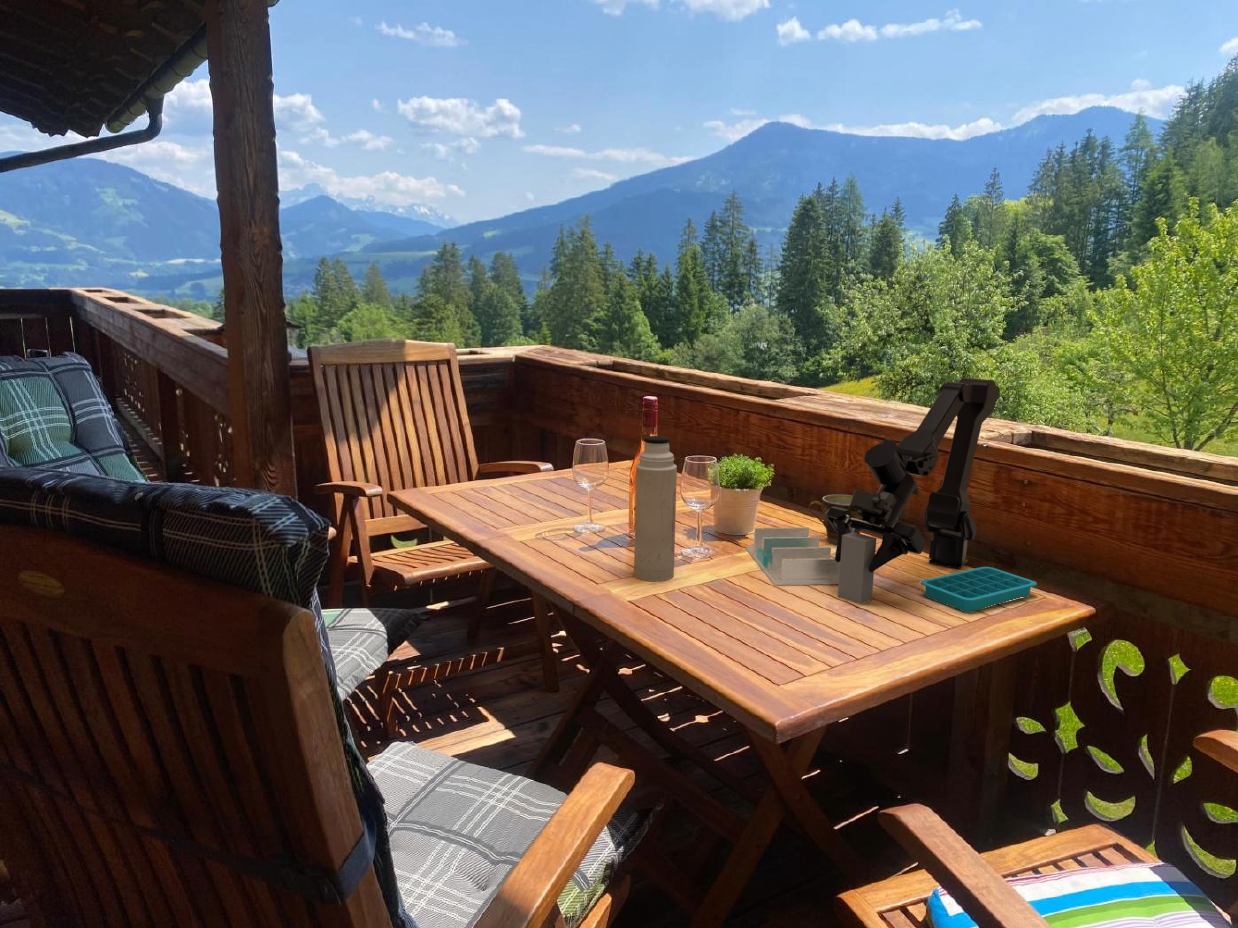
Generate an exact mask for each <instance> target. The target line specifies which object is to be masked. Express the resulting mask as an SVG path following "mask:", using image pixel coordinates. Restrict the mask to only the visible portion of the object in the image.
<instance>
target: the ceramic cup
mask: <svg viewBox="0 0 1238 928" xmlns="http://www.w3.org/2000/svg"><path fill="white" fill-rule="evenodd" d="M852 497H853V494H852V495H850V494H828V495H825V496H823V497H822V503H821V502H820V501H818V500H814V501H811V502H810V503H809V505H808V511H809V512H810V513H811V514H812V515H813V516H814V517H816V518H817V519H818V520H819V522H821V523H822V525H823V527H824V528H825V531H826V539H827V542H828V544H832V545H836V546H837V542H838V532H836V531H835V530H834V529H833V527H832V526H831V525H830V523H829V522H828V520H827V519H826V517H825V515H826V513H827V511H828V510H829V508H830V507H834V506H835V507H839V508H843V509H847V510H849V511H850V512H851V514H852V515H853V517H854V518H856V519H860V520H862V516H859V514H858V513H857V511H858V510H859V509H857V508H856V507H854V506H853V507H852V506H850V503H851V500H852ZM812 505H818V506H819V507H821V510H822V512H823V514H824V520H823V519H821V518H820V516H819V515H818V514H816V513H815V512H814V511H812V509H811V506H812ZM855 533H859V534H861V530H858V529H857V530H856V531H855Z"/></svg>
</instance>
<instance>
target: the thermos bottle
mask: <svg viewBox="0 0 1238 928" xmlns="http://www.w3.org/2000/svg"><path fill="white" fill-rule="evenodd" d="M643 440H644V442H645V443H644V451H642V452H641V453H640V454H639V459H638V460H639V462H638V463H637V464H636V466H635V501H634V503H635V505H634V506H635V508H634V509H635V510H634V516H635V517H634V530H635V533H634V535H635V536H634V555H633V556H634V558H633V559H634V560H633V561H634V562H633V563H634V565H633V575H634V577H636V578H637V579H639V580H643V581H648V582H664V581H667V580H668V581H669V580H671V579H672V578H674V575H675V547H676V546H675V545H676V515H677V514H676V513H677V512H676V510H677V508H676V507H677V481H678V480H677V477H678V476H677V475H678V473H677V471H678V466H677V464H675V463H674V460H675V457H674V453H672V452H671V451H670V444H669V443H670V437H668V436H663V435H649V436H644V438H643Z"/></svg>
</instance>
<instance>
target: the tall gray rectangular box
mask: <svg viewBox="0 0 1238 928" xmlns="http://www.w3.org/2000/svg"><path fill="white" fill-rule="evenodd" d="M876 548H877V537H874V536H870V535H866V534H861V533H860V534H859V533H855V532H852V533H848V534H845V535H842V545H841V559H840V573H839V584H838V589H837V591H838V592H837V597H838V598H840V599H843V600H846V601H850V602H852V603H855V604H857V605H863V604H865V603H868V602H871V601H872V599H873V587H874V574H875V571H873V572H869V570H868V567H869V565H870V563H871V561H872V559H873V557H874V556H875V554H876V552H877V549H876Z"/></svg>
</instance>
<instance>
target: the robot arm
mask: <svg viewBox="0 0 1238 928" xmlns="http://www.w3.org/2000/svg"><path fill="white" fill-rule="evenodd" d="M1000 391H1001V390H1000V387H999V386H998V385H997V384H996V381H994V379H987V378H985V379H983V378H976V377H961V379H960V380H957V381H947V382H943V383H942V384H941V387H940V390H939V394H938V396H937V397H936V399H935V400H934V402H933V404H932V405H931V407H930V408H929V410H928V412H927V413H926V415H925V416H924V418H923V419H922V421H921V422H920V424H919V425H918V427H917V429H916V430H915V431H914V432H912V433H910V434H908V435H906V436H905V437H903V438H902V439H901V440H900V442H899V443H898V444H897V443H896V441H895V440H893V439H887V438H885V439H883V441H882V443H878V444H876V445H873V446H871V448H870V449H868V450H866V452H865V455H864V462H865V463H866V465H867V467H868V469H869V470H870V472H871V474H872V476H873V477H874V478H875V481H876V482H877V483H878V484H880V487H879V488H878V490H877V492H874V491H872V492H870V491H866V490H865V491H864V490H861V489H854V491H853V494H852V496H853V497H852V500H851V503H850V506H852V507H853V506H854V507H856V508H857V509H859V510H858V511H857V513H858V514H859V516H862V520H860V519H856V518H854V517H853V515H852V514H851V512H850V511H849V510H847V509H843V508H839V507H835V506H834V507H830V508H829V510H828V511H827V513H826V515H825V516H824V518H825V517H826V519H827V520H828V522H829V523H830V525H831V526H832V527H833V529H834V530H835V531H836V532H838V542H837V545H836V548H835V555H834V558H835V561H836V562H838V563H839V562H840V559H841V545H842V535H845V534H848V533H852V532H855V531H856V530H857V529H858V530H861V531H862V532H866V533H870V534H874V535H876V536H881V537H882V539H881V544H880V545H879V547H878V549H877V550H876V551H875V556H874V557H873V559H872V561H871V563H870V565H869V567H868V570H869V572H873V571H874V572H875V571H876V570H878V569H879V568H881V567H882V566H884V565H886V564H887V563H889V562H891V561H893V560H894V559H896V558H898V557H901V556H902V555H906V556H907V555H908V554H909V553H912V554H916V555H921V554H922V552H923V550H924V549H925V545H926V541H925V538H924V537H923V535H922V533H921V532H920V530H919V528H918V527H917V525H914V524H909V523H904V522H901V521H898V520H899V519H904V517H905V515H906V514H905V512H904V509H905V508H906V506H907V504H908V503H909V500H910V498H912V495H914V496H918V495H920V489H919V487H918V481H917V480H915V479H914V476H919V477H928V476H929V475H930V474H931V473H933V472H932V471H934V469H935V468H936V466H937V463H938V460H939V457H940V454H939V449H938V447H939V445H940V444H941V442H942V440H943V438H944V437H945V435H946V433H947V432H948V431H949V429H950V427H951V425H952V424H953V422H954V421H955V419H956V422H955V427H954V431H953V436H952V441H951V444H950V450H949V453H948V458H947V462H946V466H945V467H946V468H945V471H944V474H943V475H944V476H943V479H942V484H941V486H940V487H939V488H938V489H937V490H936V491H931V493H930V494H929V496H928V503H927V505H926V508H925V513H924V517H925V518H924V519H925V527H926V528H925V529H926V532H927V533H932V534H933V537H932V538H931V539H930V540H929V542H930V543H929V553H928V558H929V560H928V564H932V565H937V566H942V567H948V568H953V569H958V570H959V569H962V568H963V567H964V566H965V565H966V564H967V563H968V559H967V549H968V541H974V540H975V539H974V538H975V537H976V535H977V532H978V526H977V524H976V522H975V521H974V519H973V516H972V515H971V512H972V503H971V500H970V496H969V494H968V486H969V481H970V478H971V477H970V476H971V473H972V467H973V466H974V465H973V464H974V461H975V460H974V459H975V456H976V452H977V451H976V450H977V446H978V442H979V437H980V433H981V429H982V426H983V423H984V422H985V421H986V419H988V418H989V417H990V416H991V415H992V413H994V410H995V407H996V405H997V402H998V400H999V398H1000V393H1001V392H1000ZM913 475H914V476H913ZM897 521H898V522H897ZM861 531H860V532H861Z"/></svg>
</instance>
